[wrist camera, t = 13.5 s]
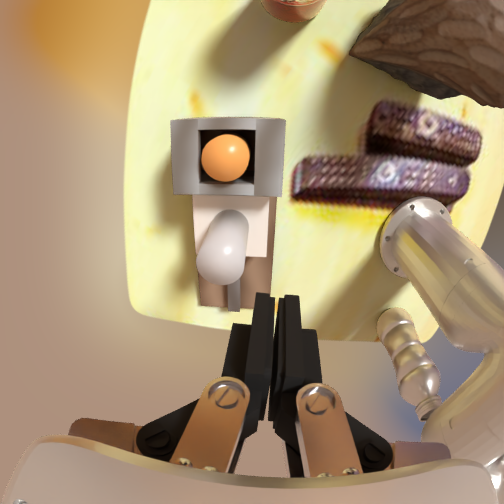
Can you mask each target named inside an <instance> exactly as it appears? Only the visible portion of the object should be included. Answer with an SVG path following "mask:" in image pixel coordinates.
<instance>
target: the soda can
mask: <svg viewBox="0 0 504 504" xmlns="http://www.w3.org/2000/svg"><path fill="white" fill-rule="evenodd" d="M326 1H327V0H261V3H262V5H263V7H264V8H265V10H266V11H267V12H268V13H269V14H271V15H272V16H273V17H275V18H277V19H280V20H283V21H286V22H304V21H307V20H310V19H312V18H314V17H315V16H316V15H317V14H318V13H319V12H320V11H321V9H322V7H323V6H324V4H325V2H326Z"/></svg>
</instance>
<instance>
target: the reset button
mask: <svg viewBox="0 0 504 504" xmlns="http://www.w3.org/2000/svg"><path fill="white" fill-rule="evenodd" d="M250 156H251V149H250V146H249V143H248V142H247V140H246V139H245V138H244V137H242V136H241V135H239V134H236V133H224V134H222V135H220V136H218V137H216V138H214V139H212V140H211V141H209V142H208V143H207V144H206V146H205V147H204V149H203V152H202V158H201V159H202V165H203V168H204V170H205V171H206V173H207V174H208V175H209V176H210V177H212V178H213V179H215V180H218V181H224V182H226V181H232V180H235V179H237V178H239V177H240V176H241V175H242V174H243V173H244V172H245V170H246V168H247V166H248V163H249V159H250Z"/></svg>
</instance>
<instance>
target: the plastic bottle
mask: <svg viewBox="0 0 504 504" xmlns="http://www.w3.org/2000/svg"><path fill="white" fill-rule="evenodd" d="M376 329H377V335H378V337H379V339H380V341H381V342H382V344H383V345H384V346H385V348H386V350H387V351H388V353H389V355H390V357H391V359H392V362H393V366H394V369H395V372H396V377H397V382H398V388H399V392H400V395H401V396H402V398H403V399H404V400H405V401H407V402H408V403H410V404H412V405H414V406H416V408H415V411H416V413H417V414H418V417H419V420H420V421H421V422H423V421H427V419H428V418H429V417H430V415H431V414H432V413H433V412H434V411H435V410H436V409H437V408H438V407H439V406H440V405H441V404H442V402H441V398H440V396H439V395H437V394H438V390H439V386H440V380H441V379H440V372H439V370H438V369H437V367H436V366H435V364H434V363H433V361H432V360H431V358H430V357H429V356H428V355H427V353H426V351H425V349H424V348H423V346H422V344H421V343H420V340H419V338H418V335H417V333H416V330H415V327H414V323H413V320H412V317H411V316H410V314H409V313H408V312H407V311H406V310H405V309H402V308H398V307H394V308H390V309H388V310H386V311H385V312H384V313H382V315H381V316H380V317H379V319H378V322H377V325H376Z"/></svg>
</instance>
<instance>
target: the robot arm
mask: <svg viewBox="0 0 504 504" xmlns="http://www.w3.org/2000/svg"><path fill="white" fill-rule="evenodd" d="M379 247H380V254H381V257H382V260H383V262H384V263H385V265H386V266H387V268H388V269H389V270H390V271H391V272H392V273H393V274H395V275H397V276H399V277H404V278H408V279H409V281H410V282H411V283H412V285H413V286H414V288H415V289H416V291H417V292H418V294H419V295H420V297H421V298H422V300H423V301H424V303H425V304H426V306H427V307H428V309H429V310H430V312H431V314H432V315H433V317H434V318H435V320H436V321H437V323H438V325H439V326H440V328H441V330H442V331H443V333H444V334H445V336H446V337H447V339H448V340H449V341H450V343H451V344H452V345H454V346H455V347H457V348H458V349H460V350H463V351H467V352H476V353H484V359H483V361H482V362H481V364H480V365H479V366H478V367H477V369H475V371H474V372H473V374H472V375H471V376H470V377H469V378H468V379H467V380H466V381H465V382H464V383H463V384H462V385H461V386H460V387H459V388H458V389H457V390H456V391H455V392H454V393H453V394H452V395H451V396H449V397H448V398H447V399H446V400H445V401H444V402H443V403H442V404H441V405H440V406H439V407H438V408H437V409H436V410H435V411H434V412H433V413H432V414H431V415H430V417H429V418H428V419H427V421H426V423H425V425H424V427H423V430H422V434H421V442H405V441H395V443H388V442H387V441H386V440H385V439H384V438H382V437H381V436H379V435H378V434H376V433H375V432H374V431H372V430H371V429H369V428H368V427H366V426H365V425H363V424H362V423H361V422H359V421H358V420H356V419H355V418H354V417H352V416H351V415H349V414H348V413H347V412H345V411H344V408H343V405H342V401H341V398H340V396H339V395H338V393H337V392H336V390H335V389H333V388H332V387H330V386H328V385H326V384H322V375H321V366H320V357H319V348H318V340H317V333H316V330H313V329H302V327H301V313H300V301H299V296H297V295H285V296H284V298H279V303H278V310H277V318H276V325H275V332H274V311H275V297H270V293H260V292H256V296H255V303H254V311H253V318H252V325H247V324H237V323H233V325H232V330H231V334H230V339H229V344H228V348H227V353H226V358H225V363H224V367H223V372H222V376H221V377H219V378H216V379H213V380H212V381H210V382H209V383H208V384H207V385H206V387H205V388H204V390H203V392H202V394H201V397H200V398H199V399H197V400H196V401H194V402H192V403H190V404H188V405H186V406H184V407H182V408H180V409H178V410H176V411H173V412H172V413H170V414H167V415H165V416H163V417H161V418H159V419H156V420H154V421H152V422H150V423H148V424H146V425H145V426H135V424H134V423H124V422H114V421H106V420H98V419H91V418H80V419H78V420H76V421H75V422H74V423H72V425H71V427H70V430H69V434H68V435H46V436H43V437H40V438H38V439H36V440H35V441H34V442H32V443H31V444H30V445H29V447H28V448H27V449H26V451H25V452H24V454H23V455H22V457H21V458H20V460H19V462H18V464H17V465H16V467H15V469H14V472H13V474H12V476H11V478H10V480H9V482H8V485H7V487H6V490H5V493H4V496H3V499H2V502H1V504H504V270H503V269H502V268H501V267H500V266H499V265H498V264H497V263H496V262H495V261H494V260H493V259H491V258H490V257H489V256H488V255H487V254H486V253H485V252H484V251H483V250H481V249H480V248H479V247H478V246H477V245H476V244H475V243H473V242H472V241H471V240H470V239H469V238H468V237H466V236H465V235H464V234H463V233H461V232H460V231H459V230H458V229H456V228H455V227H454V226H453V225H452V219H451V217H450V214H449V212H448V211H447V209H446V208H445V207H444V206H443V205H442V204H441V203H440V202H438V201H437V200H435V199H432V198H430V197H415V198H412V199H409V200H407V201H405V202H403V203H402V204H401V205H399V206H398V207H397V208H396V209H395V210H394V211H393V212H392V213H391V214H390V216H389V217H388V219H387V220H386V222H385V224H384V227H383V229H382V232H381V236H380V244H379ZM273 335H274V339H273ZM269 387H270V396H269V411H268V421H273V429H275V433H276V434H277V435H278V436H279V437H280V438H282V446H283V453H284V460H285V466H286V474H287V478H278V477H258V476H246V475H237V474H235V472H236V469H237V466H238V463H239V460H240V457H241V454H242V451H243V448H244V444H245V442H246V438H247V437H249V436H250V435H252V434H253V433H255V432H256V431H257V426H258V420H261V421H262V420H264V415H265V409H266V404H267V398H268V392H269Z"/></svg>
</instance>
